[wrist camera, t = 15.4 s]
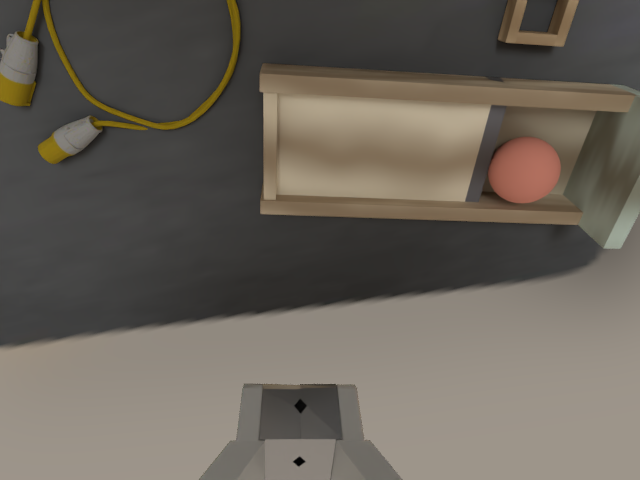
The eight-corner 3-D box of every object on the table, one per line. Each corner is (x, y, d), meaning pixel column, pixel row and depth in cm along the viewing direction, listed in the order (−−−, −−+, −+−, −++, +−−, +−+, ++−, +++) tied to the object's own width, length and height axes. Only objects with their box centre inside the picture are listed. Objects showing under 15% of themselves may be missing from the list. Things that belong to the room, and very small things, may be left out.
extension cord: (-71, -48, 24) (-99, -49, 22) (213, -107, 23) (206, -112, 21) (43, 160, 30) (28, 172, 28) (266, 120, 29) (264, 129, 28)
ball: (519, 122, 30) (486, 134, 28) (583, 144, 28) (553, 159, 25) (499, 178, 33) (467, 194, 30) (556, 203, 30) (526, 223, 28)
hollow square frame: (515, -29, 25) (524, -29, 24) (575, -24, 25) (586, -24, 24) (497, 39, 27) (505, 42, 26) (553, 43, 27) (563, 46, 26)
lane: (262, 63, 27) (255, 86, 22) (622, 85, 29) (692, 111, 24) (263, 194, 32) (257, 237, 27) (571, 205, 34) (620, 248, 29)
